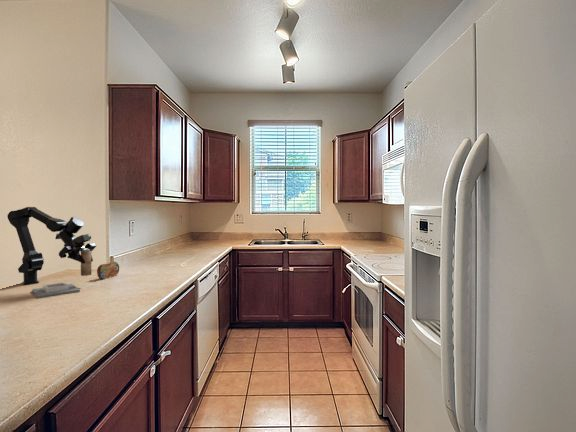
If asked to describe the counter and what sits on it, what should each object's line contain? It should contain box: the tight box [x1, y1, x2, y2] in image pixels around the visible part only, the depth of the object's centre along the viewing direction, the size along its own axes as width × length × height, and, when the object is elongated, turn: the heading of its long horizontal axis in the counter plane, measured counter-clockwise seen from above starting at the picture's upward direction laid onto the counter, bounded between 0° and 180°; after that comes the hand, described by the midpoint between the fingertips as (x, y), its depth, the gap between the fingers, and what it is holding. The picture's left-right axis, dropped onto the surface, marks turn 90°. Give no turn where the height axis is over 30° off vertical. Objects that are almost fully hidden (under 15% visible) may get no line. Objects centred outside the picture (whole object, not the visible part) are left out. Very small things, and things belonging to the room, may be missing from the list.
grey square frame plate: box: [31, 281, 81, 299], centre depth 155 cm, size 16×16×3 cm
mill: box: [80, 249, 92, 277], centre depth 165 cm, size 5×5×13 cm
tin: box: [96, 261, 120, 280], centre depth 188 cm, size 15×3×8 cm, turn 168°
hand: (88, 262), depth 165 cm, fingers closed on mill, 5 cm apart
